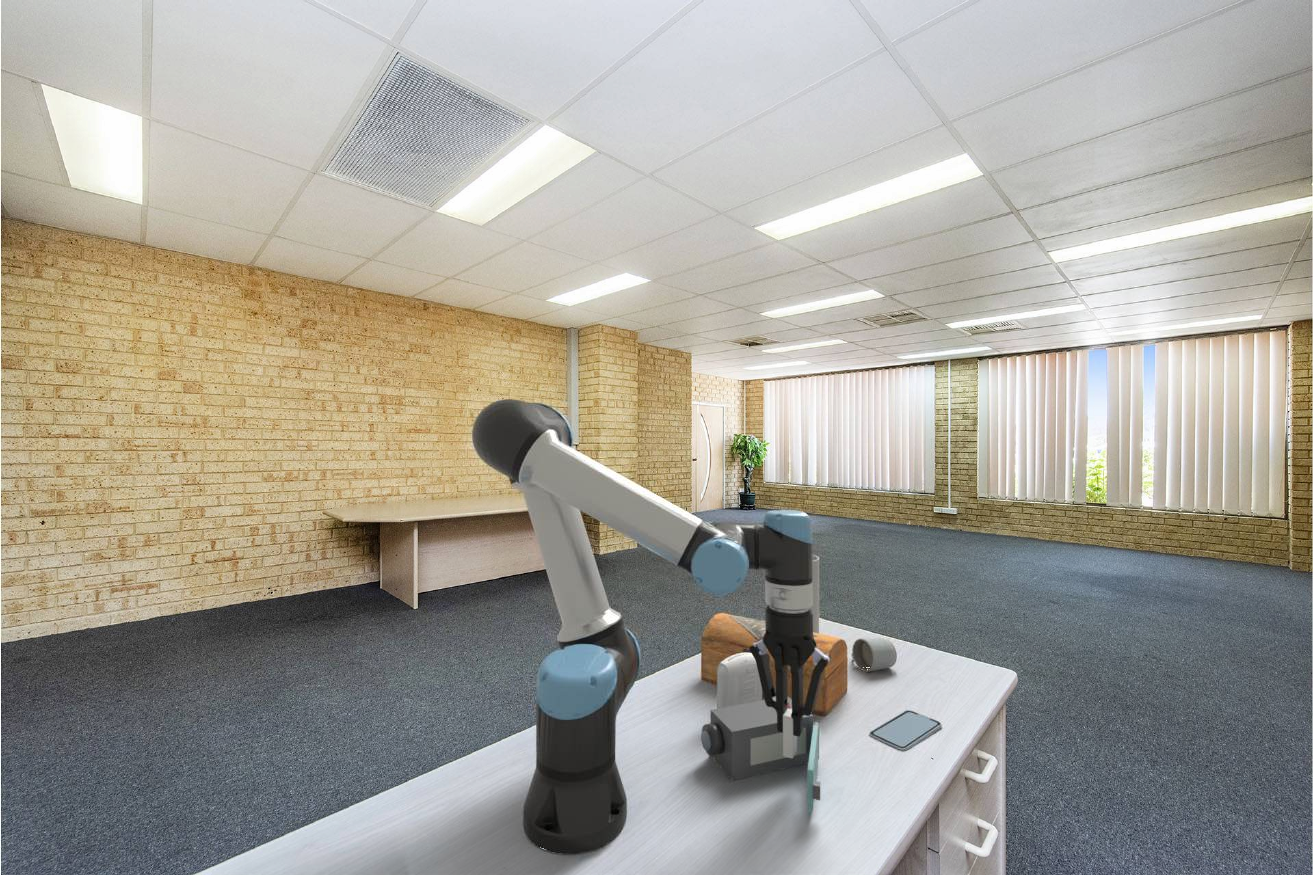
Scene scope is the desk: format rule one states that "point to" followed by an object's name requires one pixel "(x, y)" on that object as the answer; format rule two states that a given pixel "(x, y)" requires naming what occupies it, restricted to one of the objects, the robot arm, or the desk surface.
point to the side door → (813, 769)
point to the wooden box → (741, 633)
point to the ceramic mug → (873, 653)
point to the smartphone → (905, 730)
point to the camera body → (752, 740)
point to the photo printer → (738, 681)
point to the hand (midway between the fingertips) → (790, 752)
